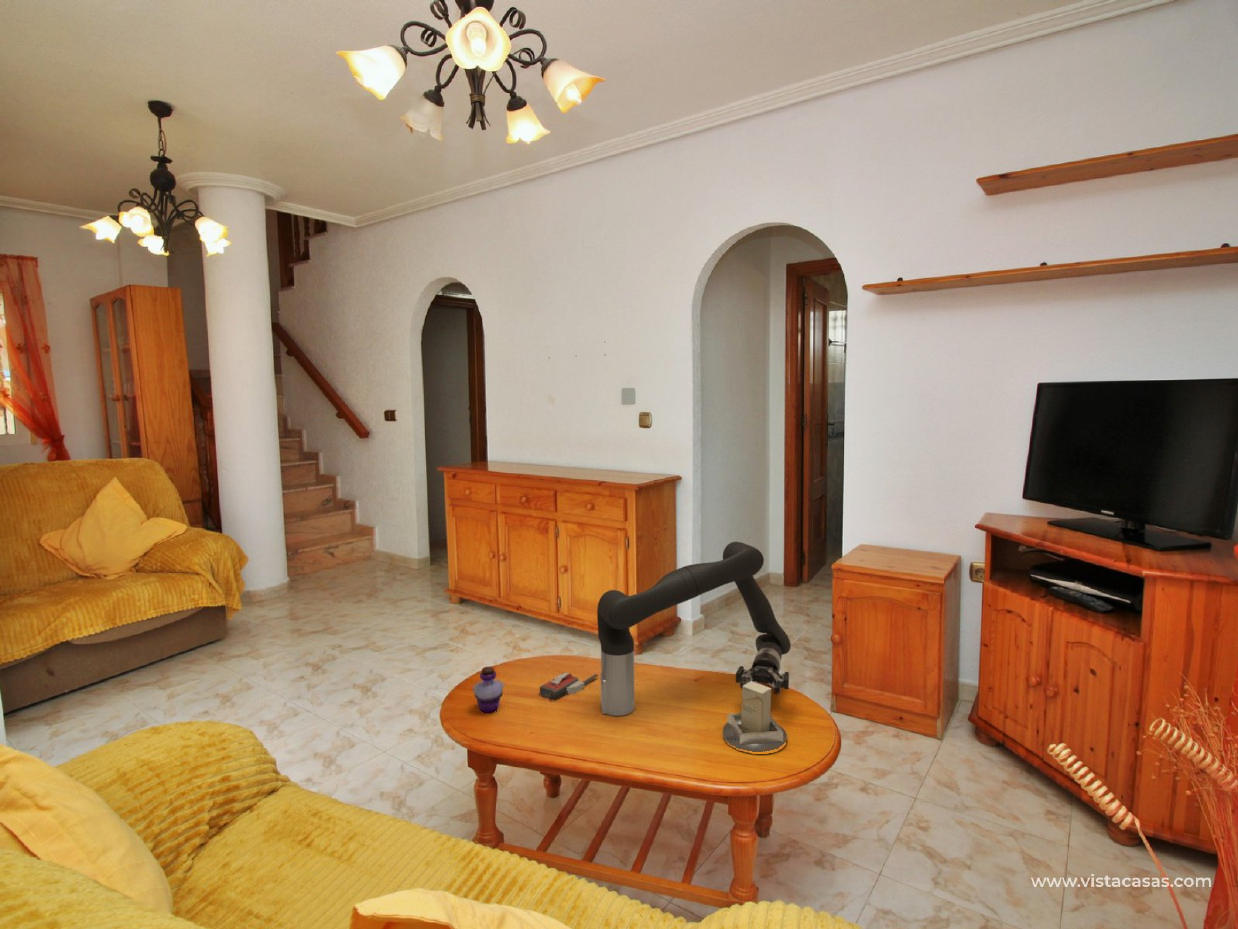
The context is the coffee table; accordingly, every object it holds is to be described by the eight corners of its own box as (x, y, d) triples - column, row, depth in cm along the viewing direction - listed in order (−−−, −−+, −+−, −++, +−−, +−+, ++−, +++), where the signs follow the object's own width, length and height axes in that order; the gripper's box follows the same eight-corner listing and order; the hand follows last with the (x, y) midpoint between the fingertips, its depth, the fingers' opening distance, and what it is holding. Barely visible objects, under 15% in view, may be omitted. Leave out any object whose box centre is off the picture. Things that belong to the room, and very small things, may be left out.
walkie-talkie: (558, 705, 188) (600, 680, 204) (557, 690, 187) (599, 666, 204) (535, 697, 193) (577, 673, 209) (534, 683, 192) (577, 660, 209)
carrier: (732, 757, 160) (732, 741, 159) (716, 724, 176) (716, 710, 175) (796, 752, 161) (796, 737, 161) (774, 720, 177) (774, 706, 177)
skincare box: (740, 731, 169) (740, 685, 168) (750, 724, 172) (750, 680, 171) (761, 740, 165) (762, 693, 163) (771, 733, 168) (771, 687, 166)
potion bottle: (510, 706, 187) (509, 665, 186) (491, 719, 179) (490, 677, 178) (486, 699, 191) (485, 660, 190) (466, 712, 183) (465, 671, 182)
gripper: (741, 649, 193) (732, 672, 177) (792, 655, 188) (787, 679, 173) (741, 674, 193) (732, 698, 178) (791, 680, 189) (786, 706, 174)
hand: (759, 688), depth 175 cm, fingers open, 8 cm apart
